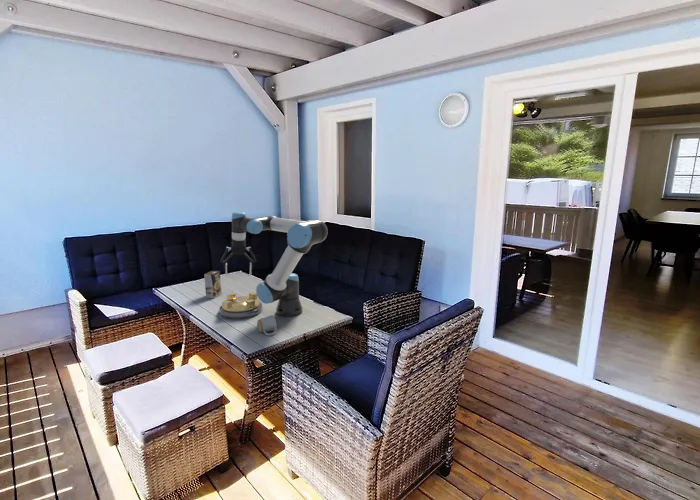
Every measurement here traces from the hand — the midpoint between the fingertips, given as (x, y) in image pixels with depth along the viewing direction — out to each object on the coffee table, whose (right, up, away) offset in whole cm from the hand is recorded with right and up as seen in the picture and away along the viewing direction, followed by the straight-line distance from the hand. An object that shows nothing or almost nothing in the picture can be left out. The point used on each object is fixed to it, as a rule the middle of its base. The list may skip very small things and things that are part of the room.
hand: (238, 274), depth 214 cm
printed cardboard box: (-24, -16, +27) cm, 40 cm away
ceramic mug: (+23, -28, -26) cm, 45 cm away
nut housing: (+1, -22, +1) cm, 22 cm away
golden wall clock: (+1, -19, 0) cm, 19 cm away
